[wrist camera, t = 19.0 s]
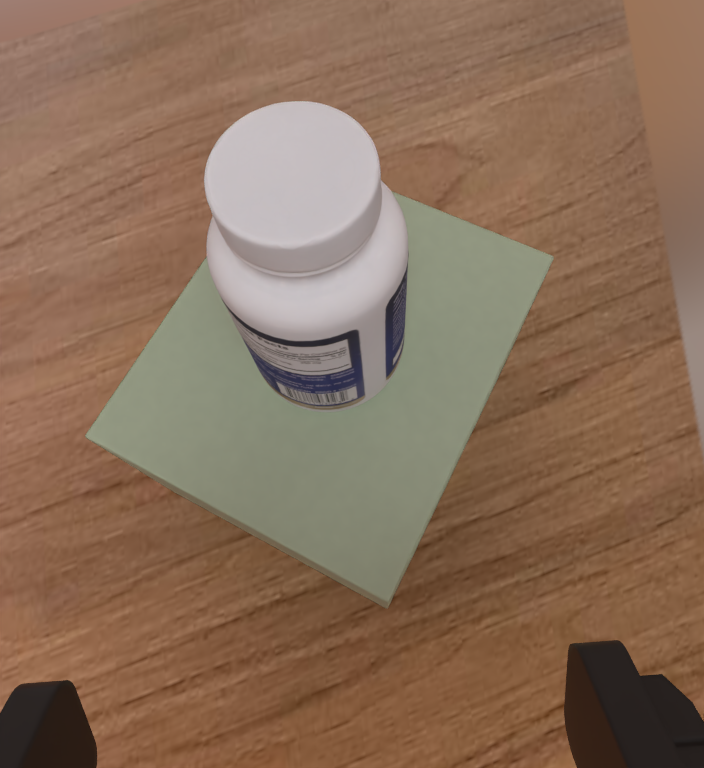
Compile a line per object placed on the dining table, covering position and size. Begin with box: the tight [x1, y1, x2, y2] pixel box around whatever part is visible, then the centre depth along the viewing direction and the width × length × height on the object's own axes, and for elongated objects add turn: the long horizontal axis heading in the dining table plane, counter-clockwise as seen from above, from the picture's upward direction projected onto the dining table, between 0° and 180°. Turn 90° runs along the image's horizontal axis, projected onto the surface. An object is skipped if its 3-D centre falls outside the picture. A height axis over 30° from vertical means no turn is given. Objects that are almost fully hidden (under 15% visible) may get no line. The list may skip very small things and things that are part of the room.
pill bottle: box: [204, 101, 409, 412], centre depth 19 cm, size 5×5×10 cm
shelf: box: [85, 191, 554, 609], centre depth 28 cm, size 12×14×10 cm
